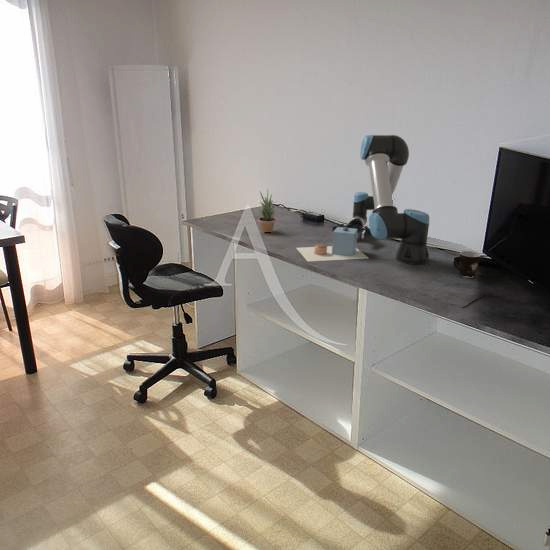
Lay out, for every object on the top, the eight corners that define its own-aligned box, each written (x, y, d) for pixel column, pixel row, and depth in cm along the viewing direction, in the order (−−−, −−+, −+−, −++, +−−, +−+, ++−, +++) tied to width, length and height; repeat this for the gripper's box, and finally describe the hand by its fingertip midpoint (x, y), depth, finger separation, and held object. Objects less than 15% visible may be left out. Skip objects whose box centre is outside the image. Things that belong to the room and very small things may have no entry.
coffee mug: (474, 273, 229) (478, 251, 225) (479, 279, 221) (483, 257, 217) (447, 271, 230) (450, 250, 226) (451, 278, 222) (454, 256, 218)
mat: (368, 259, 246) (368, 258, 245) (307, 262, 240) (307, 261, 239) (352, 245, 266) (352, 245, 266) (295, 248, 260) (295, 247, 260)
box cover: (356, 250, 257) (357, 226, 253) (352, 256, 248) (354, 231, 244) (336, 248, 260) (337, 224, 256) (331, 253, 251) (333, 229, 247)
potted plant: (255, 232, 288) (255, 187, 279) (263, 228, 296) (263, 185, 287) (271, 234, 283) (271, 189, 275) (279, 231, 291) (279, 187, 283)
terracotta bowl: (328, 254, 249) (328, 247, 248) (316, 255, 248) (316, 248, 247) (324, 251, 255) (325, 244, 254) (312, 251, 254) (313, 244, 252)
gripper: (378, 233, 278) (373, 244, 259) (333, 229, 285) (324, 239, 266) (380, 220, 276) (374, 229, 257) (333, 216, 283) (325, 225, 264)
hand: (348, 234), depth 261 cm, fingers open, 13 cm apart
